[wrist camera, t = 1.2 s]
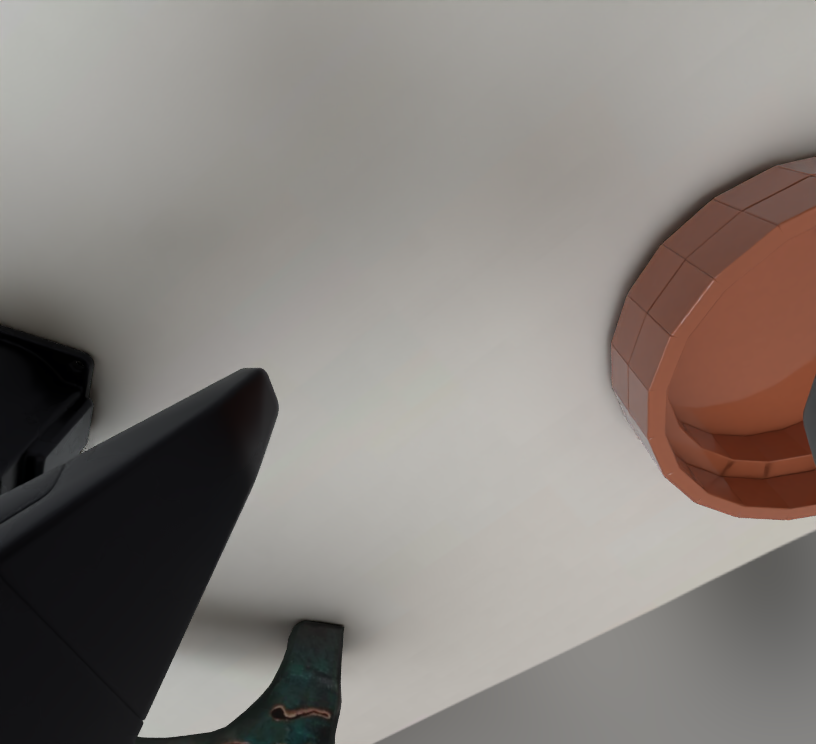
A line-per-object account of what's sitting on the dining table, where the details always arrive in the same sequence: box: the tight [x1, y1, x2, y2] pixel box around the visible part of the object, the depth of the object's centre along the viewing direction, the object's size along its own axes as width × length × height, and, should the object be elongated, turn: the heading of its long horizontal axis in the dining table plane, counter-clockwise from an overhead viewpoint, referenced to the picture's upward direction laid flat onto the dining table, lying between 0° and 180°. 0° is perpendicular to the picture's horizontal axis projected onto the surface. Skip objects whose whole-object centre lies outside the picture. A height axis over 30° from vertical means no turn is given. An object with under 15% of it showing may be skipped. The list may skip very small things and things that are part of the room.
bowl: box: [611, 156, 816, 520], centre depth 21 cm, size 14×14×4 cm
